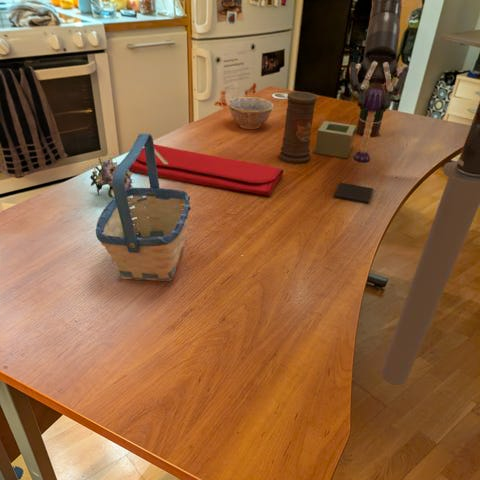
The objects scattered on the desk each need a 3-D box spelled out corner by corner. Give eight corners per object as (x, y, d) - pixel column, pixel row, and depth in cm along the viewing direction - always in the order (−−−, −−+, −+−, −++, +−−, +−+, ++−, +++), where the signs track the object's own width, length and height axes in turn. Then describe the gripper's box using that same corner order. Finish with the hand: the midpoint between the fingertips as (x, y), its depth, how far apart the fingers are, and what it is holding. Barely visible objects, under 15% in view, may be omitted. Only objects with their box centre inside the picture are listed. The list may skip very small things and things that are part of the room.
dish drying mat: (268, 198, 119) (269, 184, 117) (126, 172, 128) (125, 159, 126) (283, 175, 131) (284, 162, 129) (152, 153, 140) (151, 140, 137)
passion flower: (127, 219, 119) (121, 196, 107) (86, 207, 118) (75, 183, 107) (141, 181, 122) (135, 155, 110) (101, 170, 121) (91, 142, 110)
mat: (372, 190, 126) (373, 188, 126) (368, 203, 120) (368, 201, 119) (340, 184, 128) (340, 182, 128) (334, 197, 122) (334, 195, 121)
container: (274, 157, 141) (279, 94, 130) (291, 150, 147) (299, 89, 135) (297, 165, 137) (305, 101, 125) (314, 158, 142) (324, 95, 131)
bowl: (281, 127, 163) (283, 105, 158) (249, 137, 154) (250, 113, 149) (249, 116, 171) (251, 94, 167) (217, 124, 163) (218, 101, 158)
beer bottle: (366, 128, 167) (383, 53, 151) (383, 134, 162) (401, 58, 146) (351, 131, 163) (366, 54, 148) (367, 138, 158) (385, 60, 143)
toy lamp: (371, 164, 116) (388, 93, 105) (352, 163, 116) (367, 92, 106) (368, 157, 120) (384, 87, 109) (350, 155, 120) (364, 86, 109)
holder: (352, 147, 151) (356, 125, 146) (347, 158, 143) (351, 135, 139) (321, 142, 153) (324, 120, 149) (314, 152, 146) (317, 130, 141)
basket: (124, 235, 102) (110, 126, 87) (197, 242, 101) (195, 133, 86) (91, 291, 86) (66, 169, 71) (177, 300, 85) (170, 178, 70)
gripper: (354, 26, 106) (344, 96, 105) (417, 31, 105) (408, 102, 104) (349, 48, 114) (340, 114, 113) (408, 53, 113) (399, 120, 111)
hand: (373, 108), depth 108 cm, fingers closed on toy lamp, 4 cm apart
